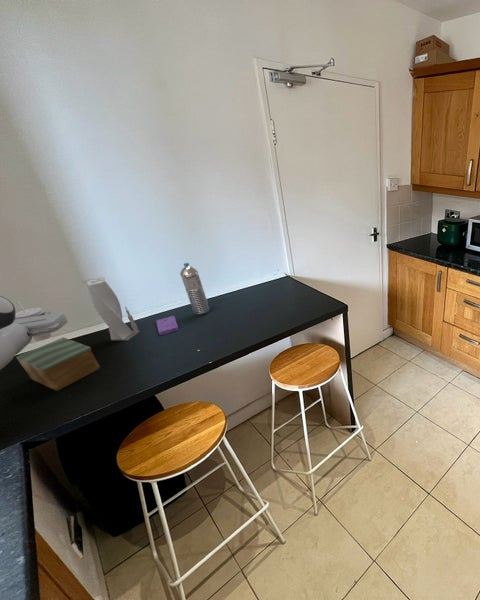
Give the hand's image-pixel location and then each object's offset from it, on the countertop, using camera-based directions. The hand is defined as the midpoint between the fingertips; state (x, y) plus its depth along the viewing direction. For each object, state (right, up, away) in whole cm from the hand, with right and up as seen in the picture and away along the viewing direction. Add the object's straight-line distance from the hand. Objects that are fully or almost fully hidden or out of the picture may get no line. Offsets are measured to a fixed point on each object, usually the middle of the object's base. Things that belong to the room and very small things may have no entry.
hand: (32, 316), depth 100 cm
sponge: (+15, -7, +39) cm, 42 cm away
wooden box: (0, -21, +11) cm, 24 cm away
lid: (0, -13, +7) cm, 15 cm away
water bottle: (+23, -1, +51) cm, 55 cm away
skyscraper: (+2, -11, +32) cm, 33 cm away
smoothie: (0, -7, +3) cm, 8 cm away
